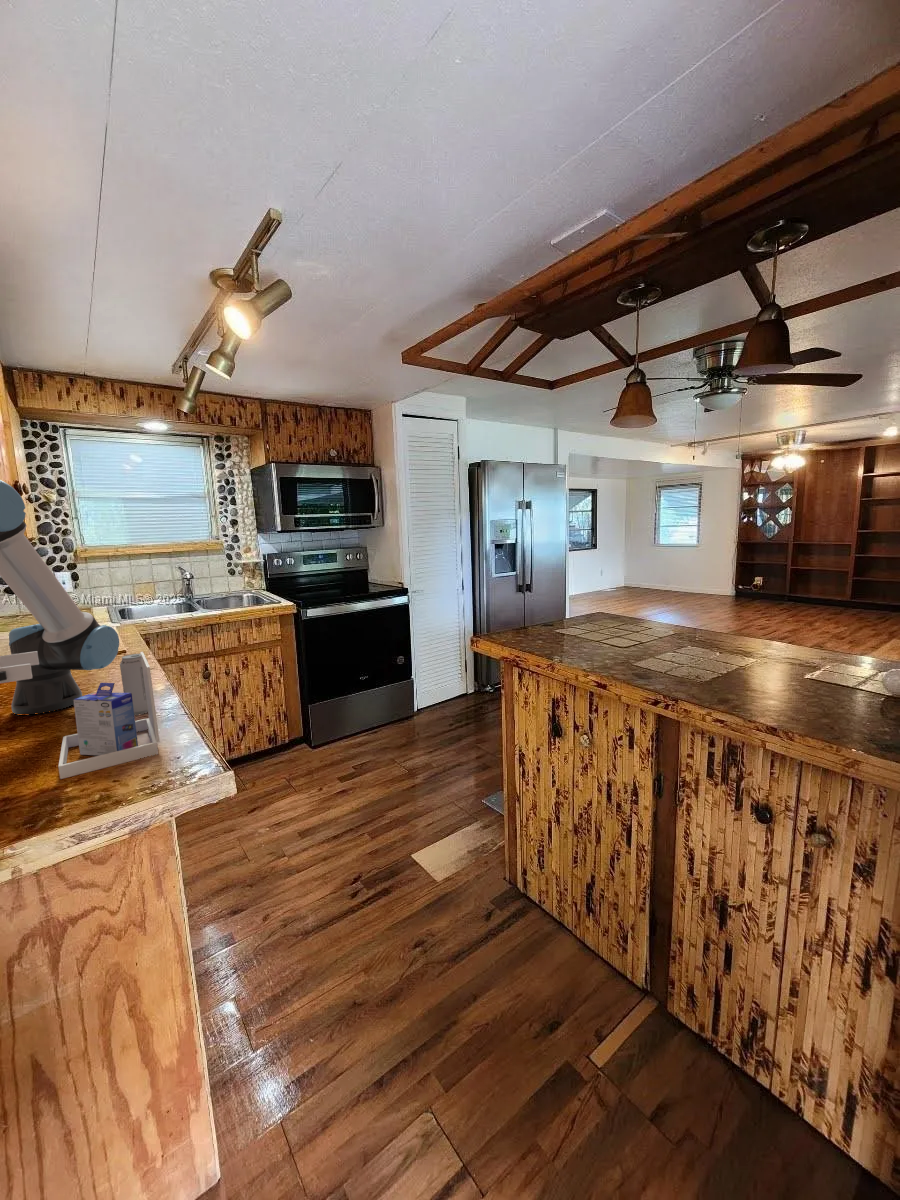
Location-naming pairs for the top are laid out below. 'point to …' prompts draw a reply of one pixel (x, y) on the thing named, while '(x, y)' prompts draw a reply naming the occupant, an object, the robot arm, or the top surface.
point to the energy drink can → (134, 681)
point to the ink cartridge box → (105, 721)
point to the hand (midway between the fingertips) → (35, 663)
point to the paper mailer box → (121, 755)
